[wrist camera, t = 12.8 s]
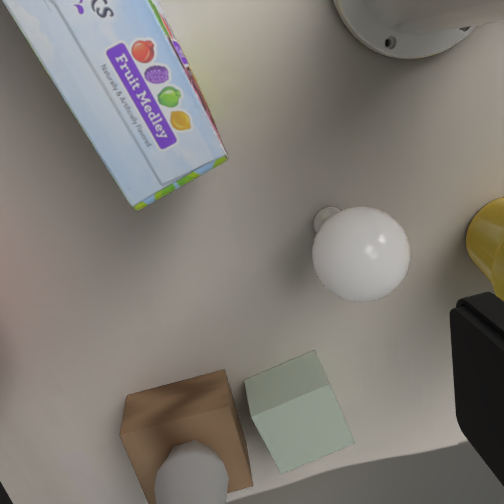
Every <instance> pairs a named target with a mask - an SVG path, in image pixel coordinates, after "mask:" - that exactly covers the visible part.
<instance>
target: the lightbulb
mask: <svg viewBox="0 0 504 504" xmlns="http://www.w3.org/2000/svg"><path fill="white" fill-rule="evenodd" d="M314 229H315V232H316V233H317V235H316V237H315V240H314V243H313V248H312V260H313V266H314V269H315V272H316V274H317V276H318V278H319V280H320V281H321V283H322V284H323V285H324V286H325V287H326V288H327V289H328V290H329V291H330V292H331V293H333V294H334V295H336V296H338V297H339V298H342V299H344V300H347V301H351V302H359V303H364V302H372V301H376V300H379V299H381V298H383V297H385V296H387V295H389V294H390V293H392V292H393V291H394V290H395V289H396V288H397V287H398V286H399V285H400V284H401V283H402V281H403V280H404V278H405V276H406V274H407V272H408V269H409V265H410V259H411V251H410V245H409V241H408V238H407V235H406V233H405V232H404V230H403V228H402V227H401V226H400V224H399V223H398V222H397V221H396V220H395V219H394V218H393V217H391V216H390V215H388V214H387V213H385V212H383V211H381V210H378V209H375V208H371V207H352V208H347V209H344V210H342V211H341V210H340V209H338V208H336V207H327V208H324V209H322V210H321V211H319V212H318V213H317V215H316V217H315V219H314Z"/></svg>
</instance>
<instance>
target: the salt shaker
mask: <svg viewBox="0 0 504 504" xmlns="http://www.w3.org/2000/svg"><path fill="white" fill-rule="evenodd" d="M228 482H229V477H228V474H227V471H226V468H225V466H224V463H223V461H222V460H221V458H220V457H219V456H218V454H217V453H216V452H215V450H214V449H213V448H211V447H209V446H207V445H205V444H202V443H200V442H198V441H196V440H193V441H190V442H187V443H183V444H180V445H177V446H174V447H173V448H172V450H171V452H170V454H169V455H168V457H167V459H166V460H165V462H164V463H163V464H162V466H161V467H160V468H159V470H158V471H157V475H156V481H155V488H154V490H155V498H156V504H226V497H227V489H228Z"/></svg>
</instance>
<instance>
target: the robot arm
mask: <svg viewBox="0 0 504 504" xmlns="http://www.w3.org/2000/svg"><path fill="white" fill-rule="evenodd" d="M333 1H334V5H335V7H336V9H337V11H338V13H339V15H340V17H341V19H342V21H343V23H344V24H345V25H346V27H347V28H348V29H349V31H350V32H351V34H352V35H353V36H355V37H356V38H357V39H358V40H359V41H360V42H361V43H362V44H363V45H364V46H366V47H368V48H370V49H371V50H373V51H375V52H377V53H379V54H382V55H385V56H388V57H391V58H400V59H415V58H424V57H428V56H432V55H436V54H439V53H441V52H443V51H445V50H447V49H449V48H452V47H453V46H455V45H456V44H457V43H459V42H460V41H462V40H463V39H465V38H466V37H467V36H468V35H469V34H470V33H471V32H472V31H473V30H474V29H475V28H476V27H477V26H478V25H481V24H487V23H493V22H499V21H504V0H333ZM386 39H387V40H388V42H389V45H388V46H387V47H386V46H385V40H386ZM450 330H451V345H452V360H453V376H454V391H455V406H456V417H457V421H458V424H459V426H460V428H461V430H462V432H463V434H464V435H465V437H466V438H467V439H468V440H469V442H470V443H471V444H472V446H473V447H474V448H475V449H476V451H477V452H478V453H479V455H480V456H481V457H482V459H483V460H484V461H485V463H486V464H487V465H488V467H489V468H490V469H491V470H492V472H493V473H494V474H495V476H496V477H497V478H498V480H499V481H500V482H501V483H502V485H503V486H504V301H502V300H501V299H500V298H498V297H497V296H496V295H494V294H492V293H490V292H485V293H481V294H477V295H473V296H470V297H466V298H462V299H460V300H458V302H457V305H456V308H454V309H452V310H451V311H450ZM0 504H13V503H12V501H11V499H10V498H9V496H8V494H7V492H6V491H5V489H4V487H3V485H2V484H1V482H0Z"/></svg>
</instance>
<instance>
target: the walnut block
mask: <svg viewBox="0 0 504 504" xmlns="http://www.w3.org/2000/svg"><path fill="white" fill-rule="evenodd" d="M120 438H121V440H122V442H123V445H124V447H125V449H126V452H127V454H128V456H129V459H130V461H131V463H132V466H133V468H134V470H135V473H136V475H137V478H138V480H139V482H140V485H141V487H142V489H143V492H144V494H145V496H146V499H147V501H148V503H149V504H156V498H155V490H154V488H155V481H156V475H157V471H158V470H159V468H160V467H161V466H162V464H163V463H164V462H165V460H166V459H167V457H168V455H169V454H170V452H171V450H172V448H173V447H174V446H177V445H180V444H183V443H187V442H190V441H193V440H196V441H198V442H200V443H202V444H205V445H207V446H209V447H211V448H213V449H214V450H215V452H216V453H217V454H218V456H219V457H220V458H221V460H222V461H223V463H224V466H225V468H226V471H227V474H228V477H229V482H228V489H227V493H229V492H233V491H237V490H240V489H244V488H247V487H251V486H253V482H252V476H251V470H250V463H249V457H248V451H247V445H246V441H245V437H244V434H243V431H242V427H241V424H240V420H239V417H238V414H237V410H236V407H235V403H234V400H233V396H232V393H231V390H230V386H229V383H228V379H227V376H226V373H225V370H221V371H217V372H213V373H209V374H206V375H202V376H198V377H194V378H191V379H187V380H183V381H179V382H175V383H172V384H168V385H164V386H160V387H157V388H153V389H149V390H145V391H141V392H138V393H134V394H130V395H127V398H126V404H125V409H124V414H123V420H122V425H121V431H120Z"/></svg>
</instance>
